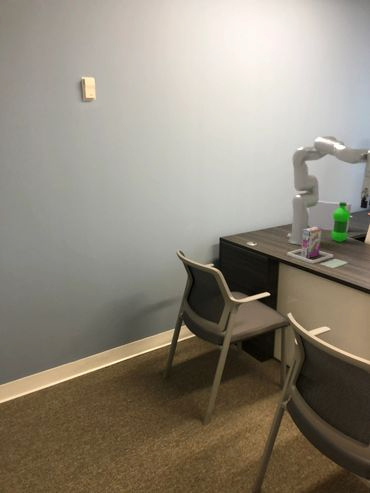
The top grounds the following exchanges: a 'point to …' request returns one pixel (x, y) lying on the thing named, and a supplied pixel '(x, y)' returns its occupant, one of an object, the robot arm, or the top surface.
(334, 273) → the top surface
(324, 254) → the grey square frame
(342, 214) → the plastic bottle
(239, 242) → the top surface
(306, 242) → the candy bar box
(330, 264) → the rubber mat
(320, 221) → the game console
